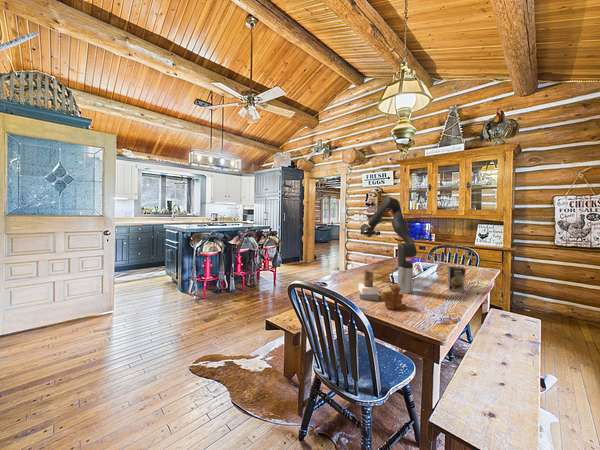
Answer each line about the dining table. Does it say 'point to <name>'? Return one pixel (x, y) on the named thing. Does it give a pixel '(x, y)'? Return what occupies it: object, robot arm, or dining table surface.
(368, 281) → the walnut block
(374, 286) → the tower top
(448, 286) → the coffee box
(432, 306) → the dining table surface
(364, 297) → the tower bottom
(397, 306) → the brown fuzzy figure
